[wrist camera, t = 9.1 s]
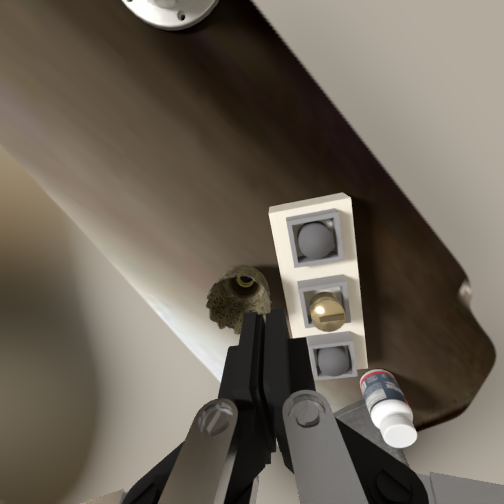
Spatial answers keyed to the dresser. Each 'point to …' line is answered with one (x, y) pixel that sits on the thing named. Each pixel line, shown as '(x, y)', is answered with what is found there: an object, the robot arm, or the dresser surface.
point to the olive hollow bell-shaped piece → (238, 297)
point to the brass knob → (327, 312)
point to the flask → (367, 427)
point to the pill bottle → (388, 408)
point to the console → (321, 276)
